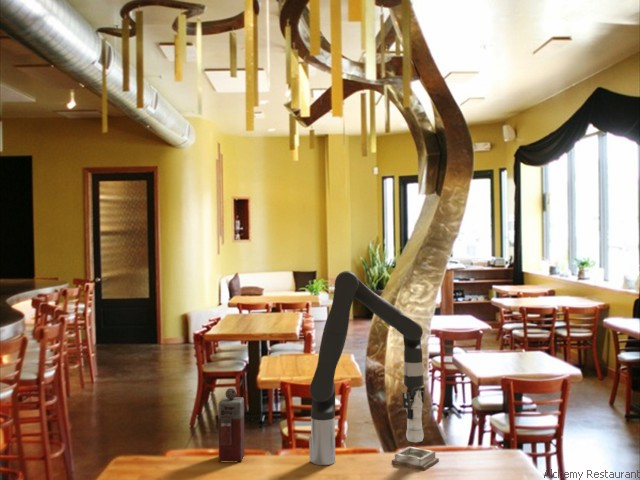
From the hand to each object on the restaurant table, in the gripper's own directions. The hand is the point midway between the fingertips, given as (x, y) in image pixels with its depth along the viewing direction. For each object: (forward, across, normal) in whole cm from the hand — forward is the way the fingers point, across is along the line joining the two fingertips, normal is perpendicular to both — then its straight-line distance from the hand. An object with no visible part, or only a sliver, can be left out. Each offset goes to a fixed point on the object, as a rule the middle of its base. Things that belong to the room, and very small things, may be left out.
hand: (414, 416), depth 244 cm
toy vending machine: (+18, +37, -62) cm, 74 cm away
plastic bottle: (+10, 0, 0) cm, 10 cm away
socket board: (+18, 0, 0) cm, 18 cm away
